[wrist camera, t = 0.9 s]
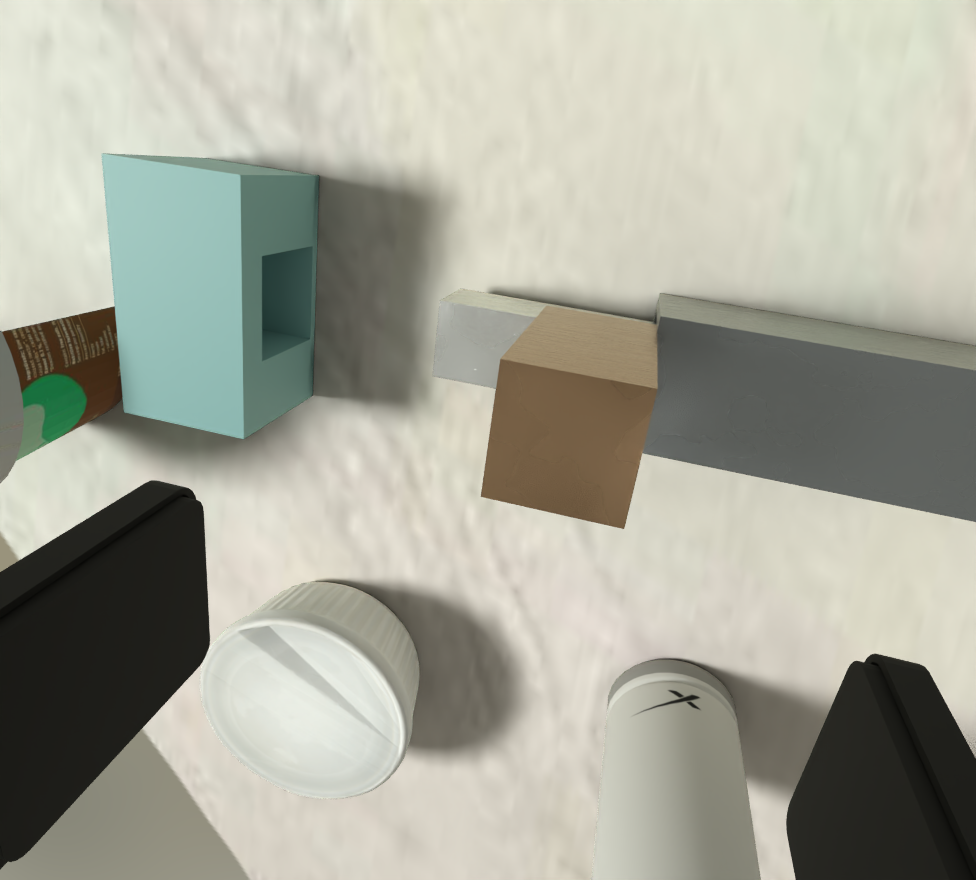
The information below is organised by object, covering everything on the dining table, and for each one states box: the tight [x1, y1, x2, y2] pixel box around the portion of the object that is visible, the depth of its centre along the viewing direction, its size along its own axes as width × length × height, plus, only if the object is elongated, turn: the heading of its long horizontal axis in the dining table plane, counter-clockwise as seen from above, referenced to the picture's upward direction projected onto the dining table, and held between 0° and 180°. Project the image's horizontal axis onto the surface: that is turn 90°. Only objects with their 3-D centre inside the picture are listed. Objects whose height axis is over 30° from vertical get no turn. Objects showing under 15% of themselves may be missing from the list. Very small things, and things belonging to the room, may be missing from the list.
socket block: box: [102, 154, 319, 439], centre depth 28 cm, size 6×10×6 cm, turn 172°
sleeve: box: [642, 293, 976, 522], centre depth 25 cm, size 12×5×5 cm, turn 82°
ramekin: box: [200, 582, 420, 799], centre depth 36 cm, size 11×11×5 cm
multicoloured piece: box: [433, 289, 658, 529], centre depth 22 cm, size 19×4×11 cm, turn 82°
